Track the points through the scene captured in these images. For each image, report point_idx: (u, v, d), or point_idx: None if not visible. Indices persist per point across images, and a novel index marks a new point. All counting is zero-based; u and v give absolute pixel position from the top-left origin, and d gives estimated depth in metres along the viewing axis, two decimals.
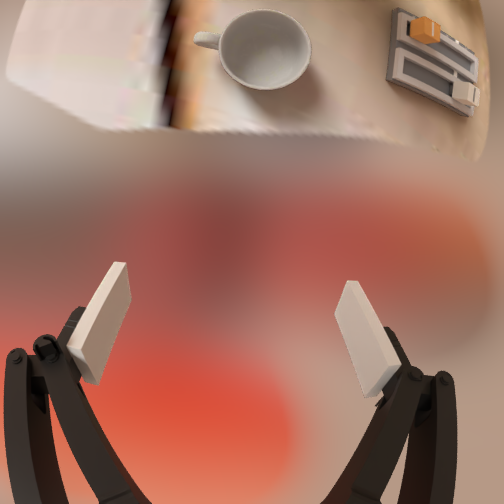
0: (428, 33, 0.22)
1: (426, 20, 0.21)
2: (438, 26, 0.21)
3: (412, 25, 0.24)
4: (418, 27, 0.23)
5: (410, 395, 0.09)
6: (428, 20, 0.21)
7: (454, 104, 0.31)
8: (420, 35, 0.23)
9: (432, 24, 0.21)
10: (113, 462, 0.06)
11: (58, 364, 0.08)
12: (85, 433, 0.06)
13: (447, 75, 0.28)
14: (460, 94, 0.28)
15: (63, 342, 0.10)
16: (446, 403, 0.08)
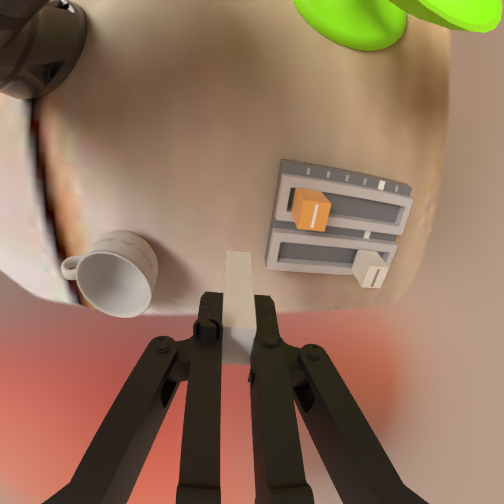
0: (304, 226, 0.28)
1: (305, 205, 0.27)
2: (326, 207, 0.27)
3: (294, 198, 0.30)
4: (296, 210, 0.29)
5: (275, 365, 0.10)
6: (309, 204, 0.27)
7: None
8: None
9: (316, 208, 0.27)
10: (219, 457, 0.07)
11: (212, 348, 0.11)
12: (208, 421, 0.08)
13: (349, 244, 0.35)
14: (358, 274, 0.34)
15: None
16: (328, 380, 0.10)
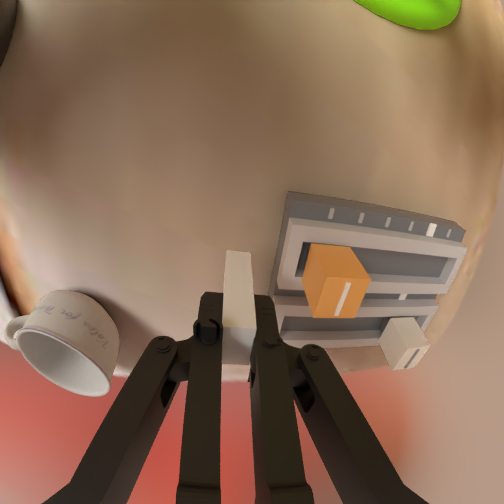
0: (325, 314, 0.17)
1: (328, 285, 0.16)
2: (363, 285, 0.16)
3: (309, 261, 0.19)
4: (312, 285, 0.18)
5: (275, 365, 0.10)
6: (335, 283, 0.16)
7: None
8: None
9: (346, 287, 0.16)
10: (219, 457, 0.07)
11: (212, 348, 0.11)
12: (208, 421, 0.08)
13: (380, 312, 0.23)
14: (388, 351, 0.23)
15: None
16: (327, 380, 0.10)
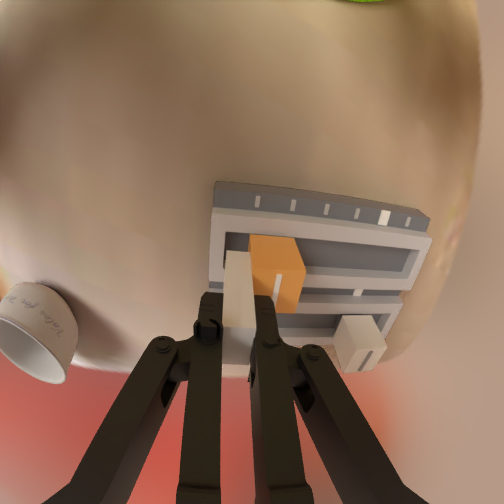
0: None
1: (257, 277, 0.15)
2: (298, 277, 0.15)
3: None
4: None
5: (275, 365, 0.10)
6: (264, 275, 0.15)
7: None
8: None
9: (278, 279, 0.15)
10: (219, 457, 0.07)
11: (212, 348, 0.11)
12: (208, 421, 0.08)
13: (329, 309, 0.23)
14: (340, 351, 0.22)
15: None
16: (327, 380, 0.10)
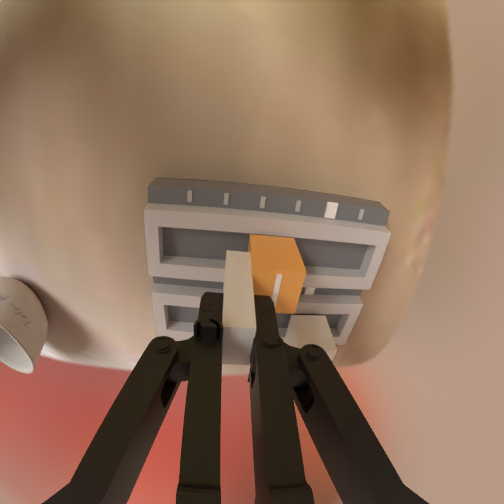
0: None
1: (257, 277, 0.15)
2: (298, 277, 0.15)
3: None
4: None
5: (275, 365, 0.10)
6: (264, 275, 0.15)
7: None
8: None
9: (278, 279, 0.15)
10: (219, 457, 0.07)
11: (212, 348, 0.11)
12: (208, 421, 0.08)
13: None
14: None
15: None
16: (327, 380, 0.10)
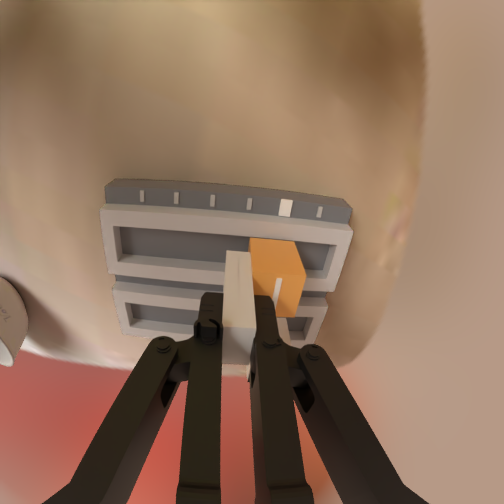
0: None
1: (257, 281, 0.15)
2: (298, 282, 0.15)
3: None
4: None
5: (275, 365, 0.10)
6: (264, 279, 0.15)
7: None
8: None
9: (278, 284, 0.15)
10: (219, 457, 0.07)
11: (213, 348, 0.11)
12: (208, 421, 0.08)
13: None
14: None
15: None
16: (327, 380, 0.10)
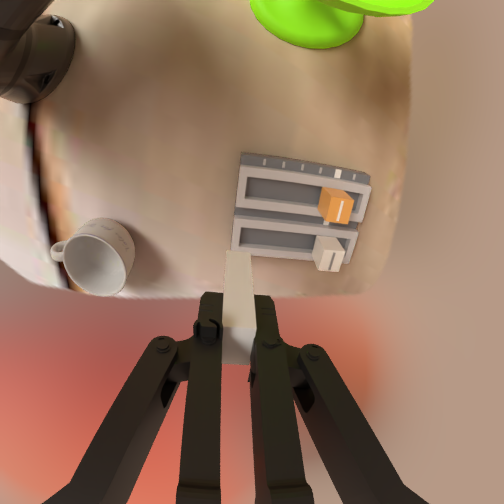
0: (331, 219, 0.32)
1: (332, 201, 0.31)
2: (350, 203, 0.31)
3: (321, 196, 0.34)
4: (324, 206, 0.33)
5: (275, 365, 0.10)
6: (336, 200, 0.31)
7: None
8: None
9: (341, 203, 0.31)
10: (219, 457, 0.07)
11: (212, 348, 0.11)
12: (208, 421, 0.08)
13: (307, 230, 0.38)
14: (316, 258, 0.37)
15: None
16: (327, 380, 0.10)
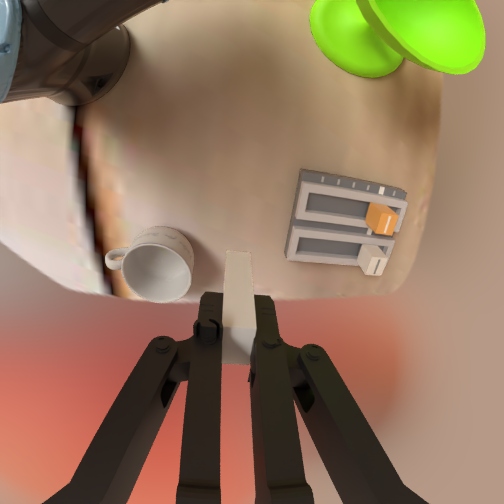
0: (380, 231, 0.36)
1: (382, 216, 0.35)
2: (395, 218, 0.35)
3: (369, 210, 0.38)
4: (373, 219, 0.37)
5: (275, 365, 0.10)
6: (384, 216, 0.35)
7: None
8: (372, 229, 0.38)
9: (389, 218, 0.35)
10: (219, 457, 0.07)
11: (212, 348, 0.11)
12: (208, 421, 0.08)
13: (355, 239, 0.42)
14: (362, 263, 0.41)
15: None
16: (327, 380, 0.10)
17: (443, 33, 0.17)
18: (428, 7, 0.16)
